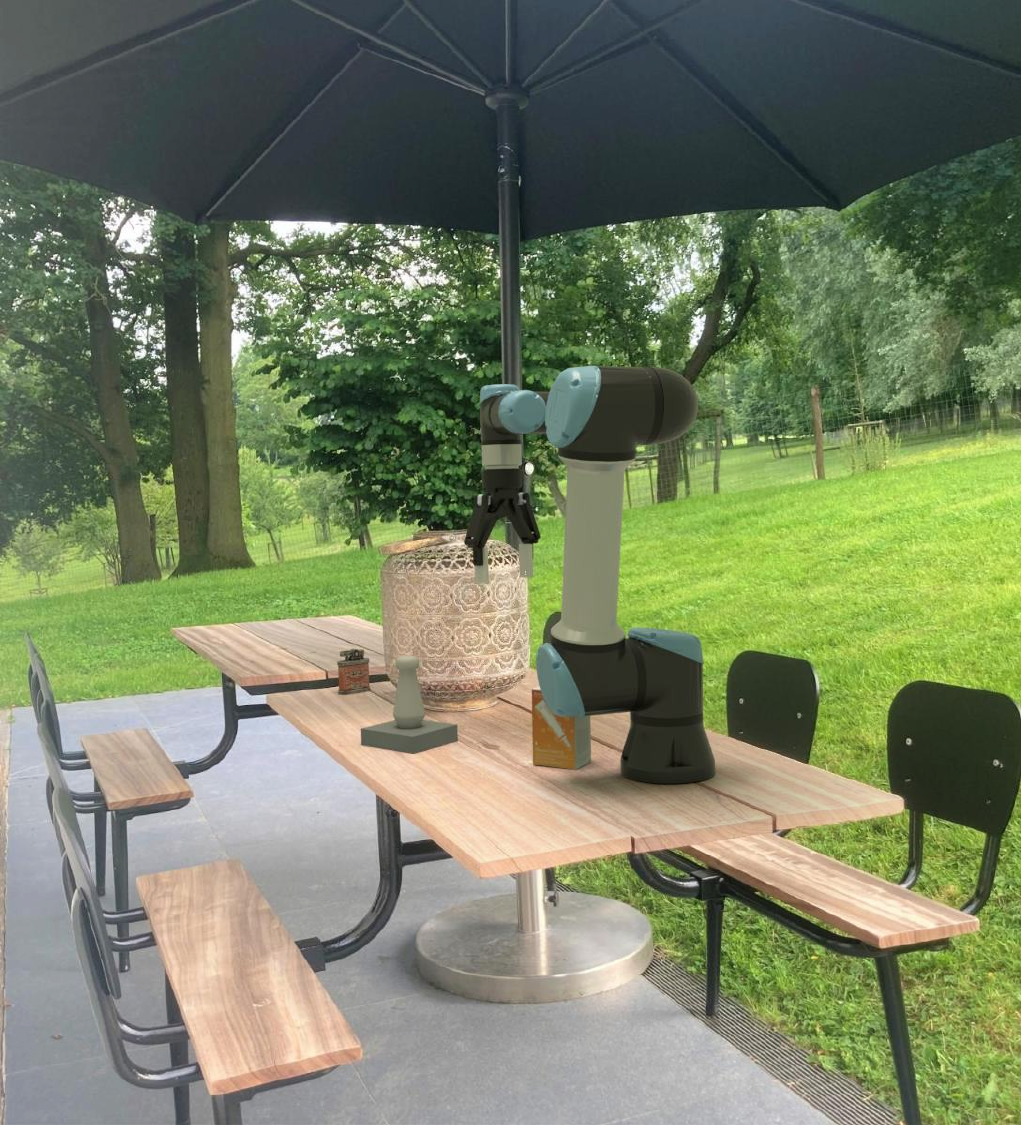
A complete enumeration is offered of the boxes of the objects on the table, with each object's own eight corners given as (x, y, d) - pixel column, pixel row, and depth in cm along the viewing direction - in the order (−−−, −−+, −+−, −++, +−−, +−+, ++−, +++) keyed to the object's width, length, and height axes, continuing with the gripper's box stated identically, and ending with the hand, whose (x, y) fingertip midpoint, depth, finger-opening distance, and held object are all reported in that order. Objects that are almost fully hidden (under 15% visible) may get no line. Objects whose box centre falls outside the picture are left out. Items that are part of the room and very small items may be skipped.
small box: (532, 765, 197) (530, 688, 197) (549, 757, 203) (547, 682, 202) (576, 770, 194) (574, 691, 193) (592, 761, 199) (590, 685, 198)
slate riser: (457, 740, 218) (457, 724, 218) (413, 753, 208) (412, 736, 208) (406, 732, 226) (405, 717, 226) (361, 744, 216) (360, 728, 216)
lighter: (365, 689, 275) (363, 646, 274) (373, 690, 272) (371, 647, 272) (335, 693, 270) (333, 650, 269) (343, 695, 267) (341, 651, 267)
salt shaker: (420, 730, 213) (417, 658, 212) (389, 729, 215) (387, 658, 214) (428, 723, 219) (426, 654, 218) (399, 723, 220) (396, 653, 219)
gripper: (526, 467, 234) (528, 574, 236) (442, 469, 215) (446, 585, 216) (556, 466, 230) (559, 575, 231) (474, 467, 210) (477, 586, 212)
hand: (504, 580), depth 224 cm, fingers open, 13 cm apart
